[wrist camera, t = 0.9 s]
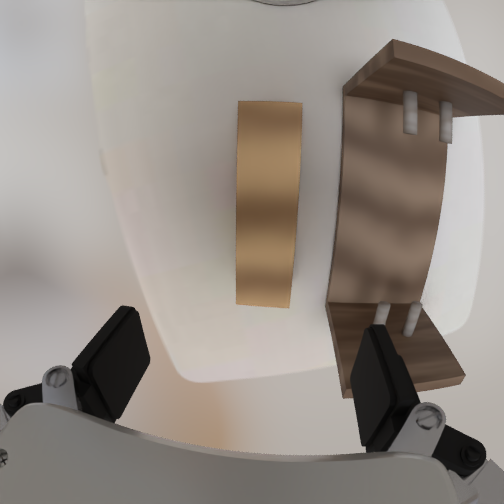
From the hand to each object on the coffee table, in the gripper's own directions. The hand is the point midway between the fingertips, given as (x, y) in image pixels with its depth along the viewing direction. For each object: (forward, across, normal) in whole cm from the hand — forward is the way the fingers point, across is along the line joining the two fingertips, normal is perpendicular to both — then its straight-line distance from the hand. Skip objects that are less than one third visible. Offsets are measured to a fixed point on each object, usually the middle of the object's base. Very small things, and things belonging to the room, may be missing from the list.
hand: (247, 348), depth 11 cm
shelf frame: (+20, -13, -2) cm, 24 cm away
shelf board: (+20, 0, -2) cm, 20 cm away
